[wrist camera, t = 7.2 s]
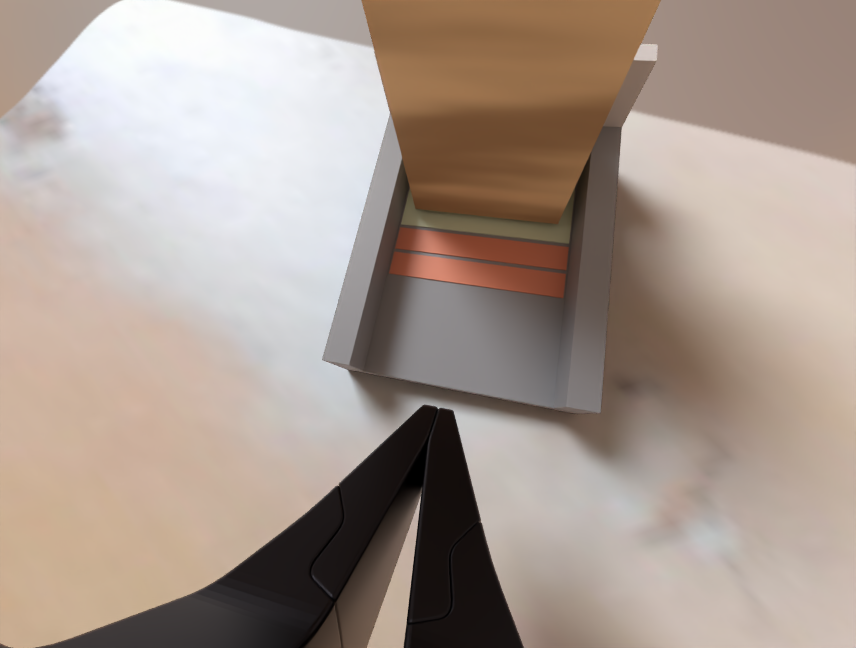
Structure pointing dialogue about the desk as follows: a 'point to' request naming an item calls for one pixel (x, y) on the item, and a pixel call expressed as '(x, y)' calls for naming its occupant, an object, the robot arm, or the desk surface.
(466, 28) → the oak slider
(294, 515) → the desk surface
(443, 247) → the rail box
